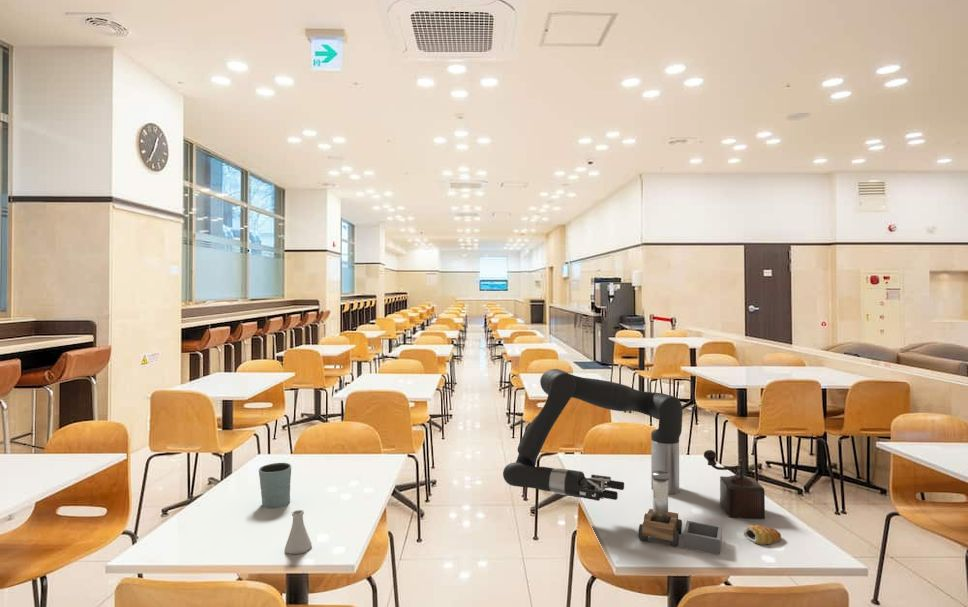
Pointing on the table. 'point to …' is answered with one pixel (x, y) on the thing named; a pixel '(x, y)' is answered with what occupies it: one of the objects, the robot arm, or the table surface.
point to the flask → (298, 535)
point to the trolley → (661, 528)
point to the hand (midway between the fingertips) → (620, 490)
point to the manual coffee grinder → (739, 492)
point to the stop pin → (660, 496)
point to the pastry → (762, 534)
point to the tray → (702, 537)
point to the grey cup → (275, 484)
